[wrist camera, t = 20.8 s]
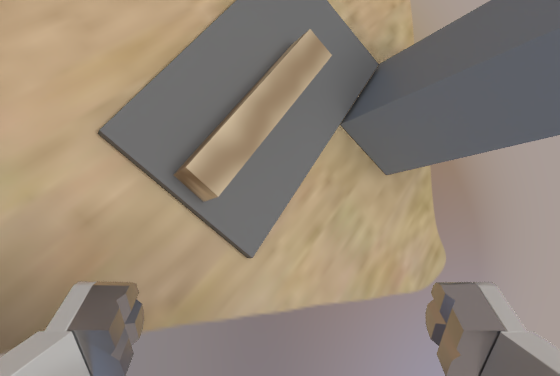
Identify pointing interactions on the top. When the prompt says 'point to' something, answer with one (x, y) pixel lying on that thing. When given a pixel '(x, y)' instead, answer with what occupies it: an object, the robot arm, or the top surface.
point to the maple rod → (252, 119)
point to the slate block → (464, 89)
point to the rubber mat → (227, 94)
